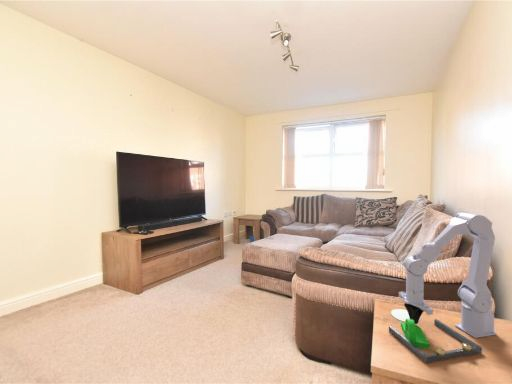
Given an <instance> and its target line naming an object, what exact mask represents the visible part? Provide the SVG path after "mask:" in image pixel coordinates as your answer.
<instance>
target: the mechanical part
mask: <svg viewBox="0 0 512 384" xmlns="http://www.w3.org/2000/svg"><path fill="white" fill-rule="evenodd" d="M401 327H402V328H401ZM400 328H401V329H402V332H403V336H404V337H405V338H407V339H408V340H409V341H410V342H411V343H413V344H414V345H415V346H416V347H418V348H419V349H420V348H421V349H425V350H430V343H429V341H428V339H427V337H426V335H425V333H424V331H423V330H422V328H421V326H419V325H417V324H415V323H414V320H412V319H410V318H406V319H405V322H403V321H401V322H400Z"/></svg>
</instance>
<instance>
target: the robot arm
mask: <svg viewBox="0 0 512 384" xmlns="http://www.w3.org/2000/svg"><path fill="white" fill-rule="evenodd" d="M492 226H493V222H492V221H491V220H490V219H489V218H488V217H487V216H484V215H481V214H475V213H472V212H471V213H470V212H468V211H461V212H458V213H456V214H455V216H454V217H453V218H451V219H450V221H449V223H448V225H447V226H446V227H445V228H444V229H443V230H442V231H441V232H440V234H438V236H436V238H435V239H434V240H433V241H432V242H426V243H423V244H421V245H420V248H419V249H418V250H417V251H416V252H415V253H413V254H411V256H408V257H407V258H405V259H404V262H403V267H404V268H405V270H406V273H405V274H406V275H405V277H406V278H405V291H398V297H399V298H400V299H401V298H402V299H403V302H404V304H403V306H404V307H405V309H406V312H407V314H408V316H409V319H412V320H414V323H415V325H417V324H419V321H420V318H421V316H422V314H424V312H425V314H426V315H428V316H429V315H433V313H434V312H433V311H434V309H433V308H432V307H431V306H430V305H428V303H426V302H425V300H424V289H425V288H424V284H425V283H424V281H425V278H424V277H425V276H424V275H425V274H426V273H427V272H428V267H430V266H429V265H430V264H432V263H433V262H434V261H435V260H436V259H438V257H439V256H440V255H441V254H442V253H441V251H442V250H441V249H442V248H444V247H445V246H447V245H448V243H450V242H451V241H453V240H454V239H455V238H456V237H457V236H459V235H470V236H471V237H472V238H473V239H474V240H473V245H472V250H471V254H470V255H471V257H470V261H469V267H468V272H467V278H466V279H465V280H462V282H461V285H460V286H459V288H458V289H457V295H458V297H459V298H460V299H461V312H460V313H461V317H460V320H461V323H456V324H454V326H455V327H457V328H458V329H460V330H462V331H463V332H465V334H466V333H467V334H468V335H470V336H471V337H473V338H475V339H477V338H482V337H483V338H484V337H489V336H490V337H491V336H495V335H497V334H498V333H497V332H496V331H495V315H494V311H492V307H493V299H492V292H491V290H490V289H489V287H488V284H487V283H488V279H489V273H490V269H491V262H492V256H493V251H494V245H495V240H496V237H495V233H494V231H493V228H492Z"/></svg>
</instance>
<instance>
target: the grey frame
mask: <svg viewBox="0 0 512 384" xmlns="http://www.w3.org/2000/svg"><path fill="white" fill-rule="evenodd" d="M433 321H434V323H433V324H434V326H436V327H437V328H439V329H441V330H442V331H444V332H445V333H447V334H448V335H450V336H452V337H453V338H455V339H456V340H457V341H459V342H460V343H461V348H457V349H451V350H445V349H444V348H442V347H438V346H437V347H435V349H434V350H435V351H434V353H427V354H426V353H425V352H424V351H423V350H422V349H420V348H419V347H416V346H415V345H414V344H413V343H411V342H410V341H409V340H408V339H407V338H406V337H405V335H404V334H401V333H400V332H399V331H398V330H397V329H395V327H393V326H392V325H389V326H388V332H389V333H390V334H391V335H392V336H394V337H395V338H396V339H397V340H398V341H399V342H400V343H402V344H403V345H404V347H406V348H408V349H409V351H411V352H412V353H413V354H415V355H416V356H417V357H418V358H419V359H420V360H422V361H423V362H424V363H425V364H430V363H436V362H441V361H446V360H453V359H457V358H463V357H469V356H475V355H480V354H482V352H483V347H482V346H481V345H479V344H477V343H475V341H472V340H471V339H469V338H467V337H466V336H464V335H462V334H461V333H460V332H458V331H456V330H455V329H453V328H452V327H450V326H448V325H447V324H445V323H443V322H442V321H440V320H439V319H437V318H435V319H433Z"/></svg>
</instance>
